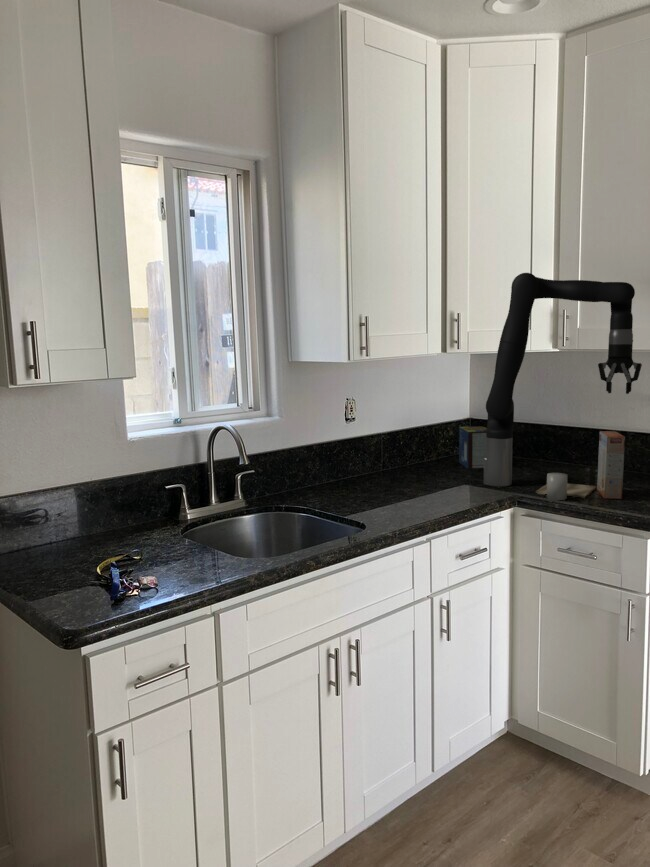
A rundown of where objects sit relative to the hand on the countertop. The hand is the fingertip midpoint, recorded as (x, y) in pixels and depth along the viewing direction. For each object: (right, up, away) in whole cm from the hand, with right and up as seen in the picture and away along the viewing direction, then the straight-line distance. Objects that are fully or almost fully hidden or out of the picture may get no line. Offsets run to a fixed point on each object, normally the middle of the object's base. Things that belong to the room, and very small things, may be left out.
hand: (618, 393), depth 245 cm
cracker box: (-5, -35, -4) cm, 35 cm away
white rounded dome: (-24, -35, -7) cm, 43 cm away
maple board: (-17, -34, +3) cm, 38 cm away
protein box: (-37, -27, +55) cm, 72 cm away
